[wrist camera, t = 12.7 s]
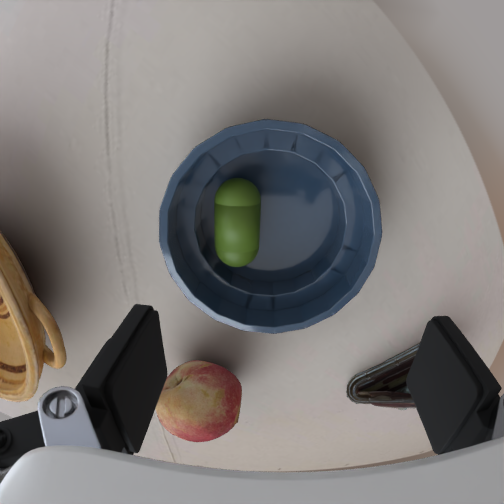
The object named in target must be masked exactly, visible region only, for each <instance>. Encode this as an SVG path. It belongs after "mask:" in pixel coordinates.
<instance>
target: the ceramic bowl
mask: <svg viewBox="0 0 504 504" xmlns="http://www.w3.org/2000/svg"><path fill="white" fill-rule="evenodd" d="M44 328H45V330H46V332H47V334H48V336H49V338H50V341H51V344H52V348H53V352H54V353H53V352H52V351H51V350H50V349H49V348H48V347H47V346H46V345H45V333H44ZM44 363H46V364H47V365H49V366H51V367H53V368H56V369H59V368H62V367H63V366H64V365H65V363H66V351H65V347H64V342H63V339H62V335H61V332H60V330H59V327H58V325H57V323H56V321H55V320H54V318H53V316H52V315H51V314H50V312H49V311H48V309H47V308H46V307H45V306H44V304H43V303H42V302H41V301H40V300H39V299H38V298H37V297H36V295H35V293H34V290H33V287H32V284H31V282H30V280H29V278H28V276H27V273H26V271H25V269H24V267H23V265H22V263H21V262H20V260H19V258H18V256H17V254H16V252H15V251H14V249H13V248H12V246H11V245H10V243H9V242H8V240H7V239H6V237H5V236H4V235H3V233H2V232H1V231H0V398H2V399H5V400H8V401H14V402H21V401H27V400H29V399H30V398H32V397H33V396H34V394H35V393H36V391H37V388H38V383H39V379H40V376H41V373H42V369H43V364H44Z"/></svg>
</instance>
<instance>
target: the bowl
mask: <svg viewBox="0 0 504 504" xmlns="http://www.w3.org/2000/svg"><path fill="white" fill-rule="evenodd" d="M233 178H243V179H246V180H248V181H250V182H252V183H253V184H254V185H255V186H256V187H257V189H258V191H259V193H260V197H261V214H260V240H259V251H258V253H257V255H256V257H255V259H254V260H253V261H252V262H251V263H249V264H247V265H245V266H242V267H232V266H229V265H227V264H225V263H223V262H222V261H221V260H220V259H219V257H218V256H217V253H216V250H215V230H214V199H215V194H216V192H217V190H218V188H219V187H220V186H221V184H223V183H224V182H225V181H227V180H229V179H233ZM381 238H382V224H381V212H380V202H379V198H378V196H377V194H376V191H375V189H374V187H373V185H372V183H371V180H370V178H369V176H368V174H367V172H366V170H365V168H364V167H363V165H362V164H361V163H360V162H359V161H358V160H357V159H356V158H355V157H354V156H353V155H352V154H351V153H350V152H349V151H348V150H347V149H346V148H345V147H344V146H343V145H342V144H341V143H340V142H339V141H338V140H336V139H334V138H332V137H330V136H328V135H326V134H324V133H322V132H320V131H318V130H316V129H314V128H312V127H310V126H308V125H305V124H301V123H294V122H287V121H279V120H270V119H263V120H258V121H254V122H249V123H244V124H240V125H235V126H231V127H228V128H225V129H224V130H222V131H220V132H219V133H217V134H215V135H214V136H212V137H210V138H209V139H207V140H206V141H204V142H202V143H201V144H199V145H198V146H196V147H195V148H194V149H193V150H192V151H191V152H190V154H189V155H188V156H187V157H186V158H185V160H184V161H183V162H182V163H181V165H180V166H179V167H178V168H177V170H176V171H175V172H174V173H173V175H172V177H171V178H170V181H169V184H168V187H167V189H166V192H165V195H164V198H163V201H162V204H161V206H160V213H159V243H160V247H161V250H162V253H163V256H164V259H165V262H166V265H167V268H168V271H169V274H170V275H171V277H172V278H173V280H174V281H175V282H176V284H177V285H178V287H179V288H180V289H181V291H182V292H183V293H184V295H185V296H186V298H187V299H188V300H189V301H190V302H191V303H193V304H194V305H195V306H197V307H198V308H199V309H201V310H202V311H203V312H205V313H206V314H207V315H209V316H210V317H211V318H213V319H214V320H216V321H219V322H222V323H224V324H227V325H229V326H232V327H234V328H237V329H240V330H243V331H251V332H261V333H271V334H274V333H275V334H276V333H282V332H288V331H293V330H299V329H305V328H307V327H309V326H312V325H314V324H316V323H318V322H320V321H322V320H324V319H326V318H328V317H330V316H332V315H334V314H335V313H337V312H338V311H339V310H340V309H341V308H342V307H343V306H345V305H346V304H347V303H348V302H349V301H350V300H351V299H352V298H353V297H355V296H356V295H357V293H359V291H360V289H361V288H362V286H363V285H364V283H365V281H366V280H367V278H368V276H369V275H370V273H371V272H372V270H373V268H374V266H375V262H376V258H377V254H378V250H379V246H380V242H381Z"/></svg>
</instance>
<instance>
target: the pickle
mask: <svg viewBox="0 0 504 504" xmlns="http://www.w3.org/2000/svg"><path fill="white" fill-rule="evenodd" d="M260 214H261V197H260V193H259V191H258V189H257V187H256V186H255V185H254V184H253V183H252V182H250V181H248V180H246V179H243V178H233V179H229V180H227V181H225V182H224V183H223V184H221V186H220V187H219V188H218V190H217V192H216V194H215V199H214V230H215V250H216V253H217V256H218V257H219V259H220V260H221V261H222V262H223V263H225V264H227V265H229V266H232V267H242V266H245V265H247V264H249V263H251V262H252V261H253V260H254V259H255V257H256V255H257V253H258V251H259V240H260Z"/></svg>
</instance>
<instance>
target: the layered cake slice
mask: <svg viewBox="0 0 504 504" xmlns="http://www.w3.org/2000/svg"><path fill="white" fill-rule="evenodd" d="M418 348H419V345H416V346H414V347H413V348H411V349H409V350H407V351H406V352H403V353H402V354H399V355H397V356H396V357H393V358H392V359H389V360H387V361H386V362H384V363H383V364H380V365H378V366H375V367H373V368H372V369H370V370H367V371H364V372H362V373H360V374H357V375H355V377H354V378H352V379H351V380H350V381H349V382H348V384H347V391H346V392H347V397H348V398H349V399H350V400H351V401H352V402H355V403H356V404H358V403H362V404H370V403H371V404H372V405H375V406H380V407H389V408H398V409H399V410H406V409H407V408H416V406H415V404H414V401H413V399H412V396H411V394H410V392H409V390H408V387H407V384H406V378H407V375H408V373H409V370H410V368H411V365H412V363H413V360H414V358H415V355H416V353H417V350H418Z"/></svg>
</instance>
